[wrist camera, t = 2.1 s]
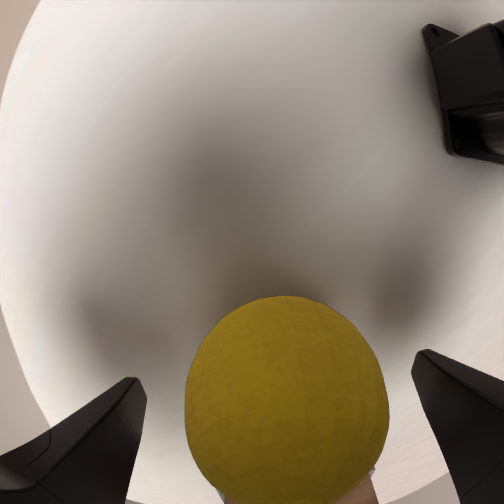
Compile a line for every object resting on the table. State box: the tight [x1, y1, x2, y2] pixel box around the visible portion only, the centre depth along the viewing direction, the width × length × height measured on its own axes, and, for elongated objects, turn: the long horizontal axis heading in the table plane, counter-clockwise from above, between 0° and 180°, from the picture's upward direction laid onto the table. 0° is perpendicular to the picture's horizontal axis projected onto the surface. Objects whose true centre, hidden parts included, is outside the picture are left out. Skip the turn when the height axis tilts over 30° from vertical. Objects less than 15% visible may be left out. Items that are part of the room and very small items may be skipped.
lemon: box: [185, 295, 390, 504], centre depth 7 cm, size 6×6×8 cm
